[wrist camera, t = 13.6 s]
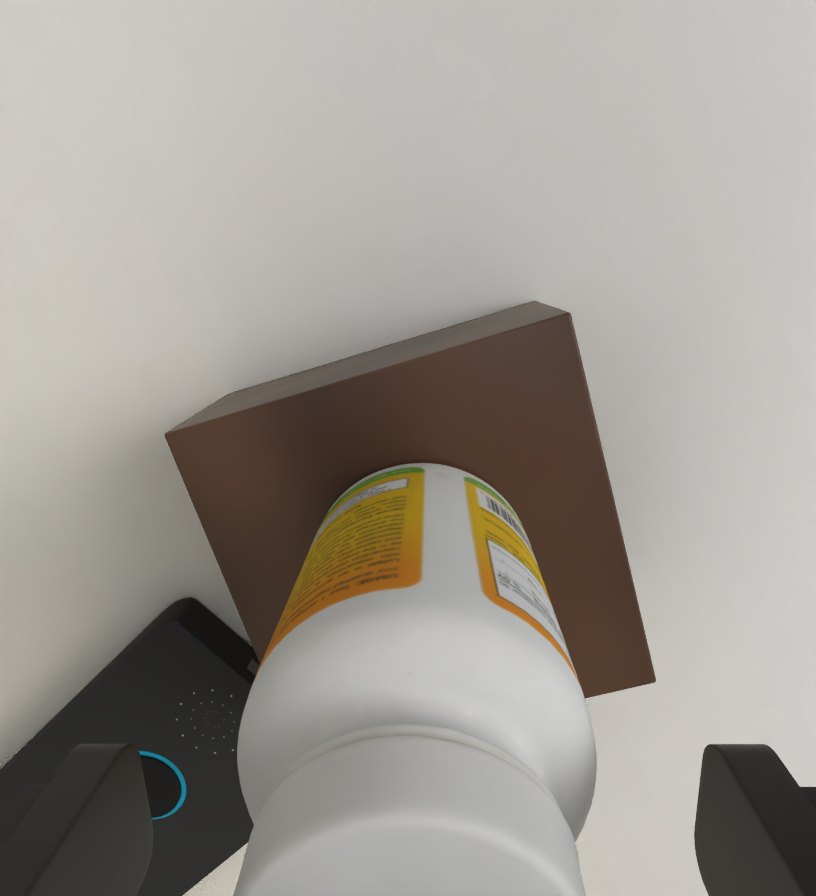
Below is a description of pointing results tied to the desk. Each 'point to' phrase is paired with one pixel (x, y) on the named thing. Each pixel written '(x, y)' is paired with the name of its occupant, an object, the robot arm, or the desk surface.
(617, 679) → the walnut block
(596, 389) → the desk surface
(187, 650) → the smart home device
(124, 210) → the desk surface
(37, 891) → the robot arm
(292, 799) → the supplement bottle
